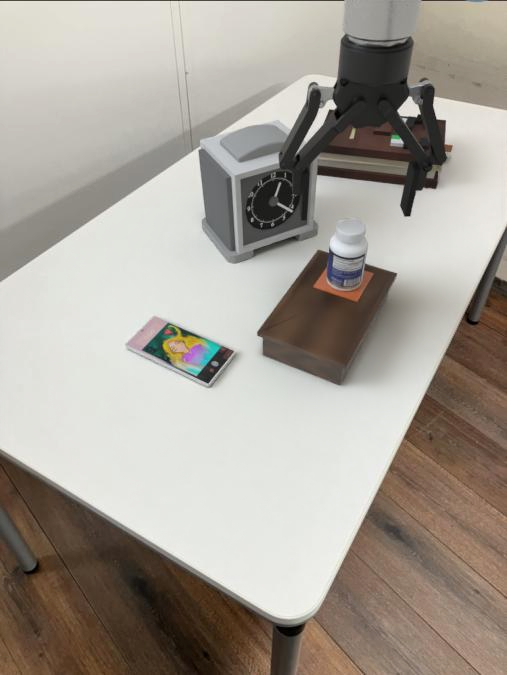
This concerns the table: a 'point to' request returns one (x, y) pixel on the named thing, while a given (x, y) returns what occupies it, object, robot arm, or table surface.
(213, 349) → the smartphone
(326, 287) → the wooden box
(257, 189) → the alarm clock
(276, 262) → the table surface
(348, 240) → the pill bottle
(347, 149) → the decorative book
